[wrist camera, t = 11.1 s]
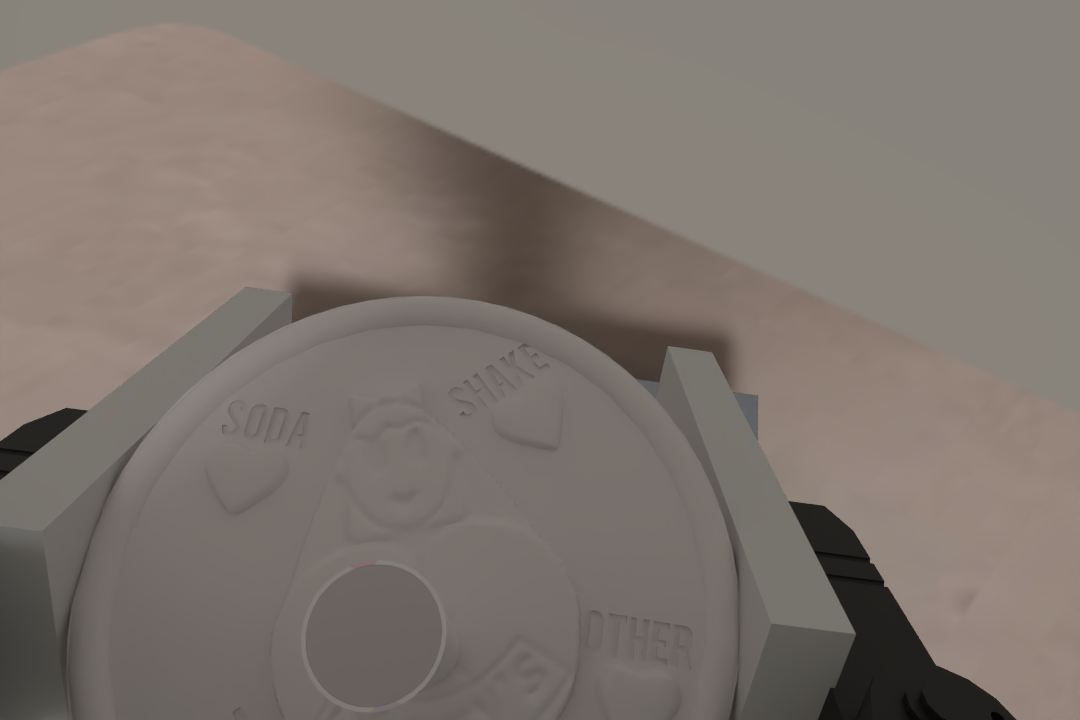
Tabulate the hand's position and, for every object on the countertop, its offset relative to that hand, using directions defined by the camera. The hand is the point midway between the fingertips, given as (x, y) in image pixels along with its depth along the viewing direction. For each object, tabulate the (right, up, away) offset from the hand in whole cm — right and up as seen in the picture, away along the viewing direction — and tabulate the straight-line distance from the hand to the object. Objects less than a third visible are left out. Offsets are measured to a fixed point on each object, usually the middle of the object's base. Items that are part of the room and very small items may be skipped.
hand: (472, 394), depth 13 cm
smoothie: (-1, -5, +3) cm, 6 cm away
